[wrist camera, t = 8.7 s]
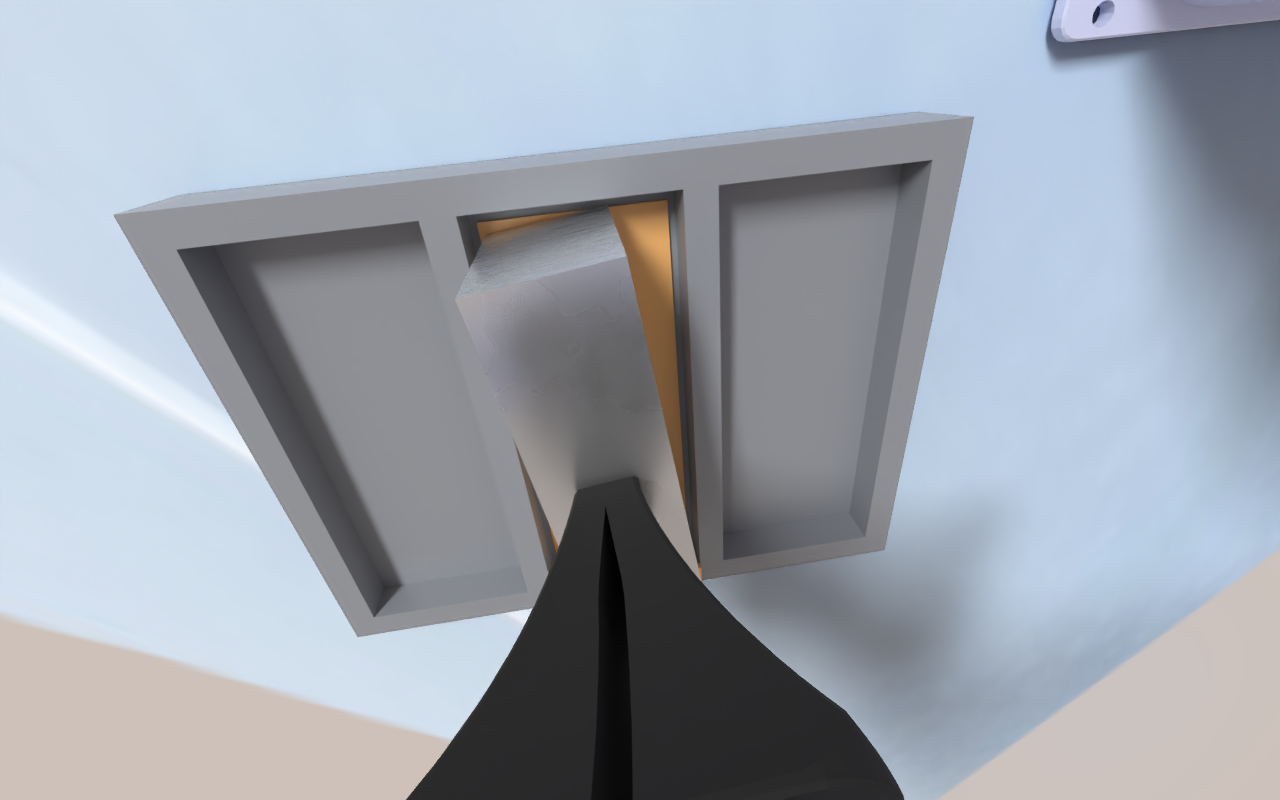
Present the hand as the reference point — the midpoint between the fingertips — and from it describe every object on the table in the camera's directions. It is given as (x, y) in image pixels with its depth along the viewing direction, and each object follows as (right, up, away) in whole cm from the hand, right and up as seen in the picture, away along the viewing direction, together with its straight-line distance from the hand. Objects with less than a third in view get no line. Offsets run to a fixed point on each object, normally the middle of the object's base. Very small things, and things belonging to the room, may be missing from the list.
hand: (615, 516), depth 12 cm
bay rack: (-1, +3, +5) cm, 6 cm away
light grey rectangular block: (-1, +3, +4) cm, 5 cm away
